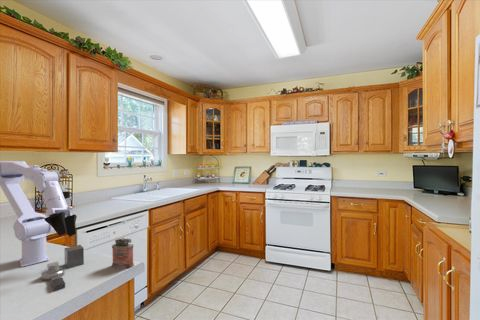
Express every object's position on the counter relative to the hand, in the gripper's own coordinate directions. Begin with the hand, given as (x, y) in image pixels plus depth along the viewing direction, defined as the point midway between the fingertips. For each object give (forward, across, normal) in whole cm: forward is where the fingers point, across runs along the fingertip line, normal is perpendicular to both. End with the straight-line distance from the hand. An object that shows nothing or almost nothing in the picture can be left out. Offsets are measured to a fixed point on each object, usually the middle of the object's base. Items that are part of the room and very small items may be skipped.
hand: (68, 234), depth 85 cm
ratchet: (+13, -4, +6) cm, 15 cm away
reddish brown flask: (+19, +2, -12) cm, 22 cm away
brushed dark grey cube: (+9, +8, +4) cm, 13 cm away
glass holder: (-44, +112, +38) cm, 126 cm away
